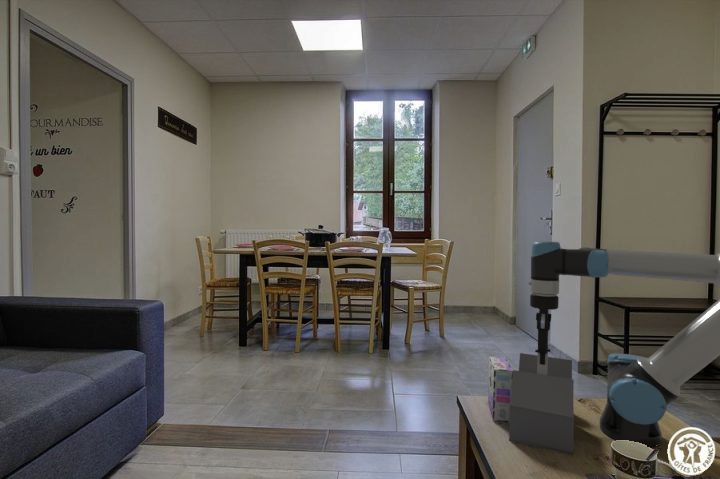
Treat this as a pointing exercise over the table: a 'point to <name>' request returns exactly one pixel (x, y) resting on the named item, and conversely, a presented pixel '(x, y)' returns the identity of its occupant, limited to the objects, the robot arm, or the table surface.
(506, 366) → the candy box
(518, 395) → the near flap
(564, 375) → the far flap
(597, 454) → the table surface
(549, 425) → the carton
